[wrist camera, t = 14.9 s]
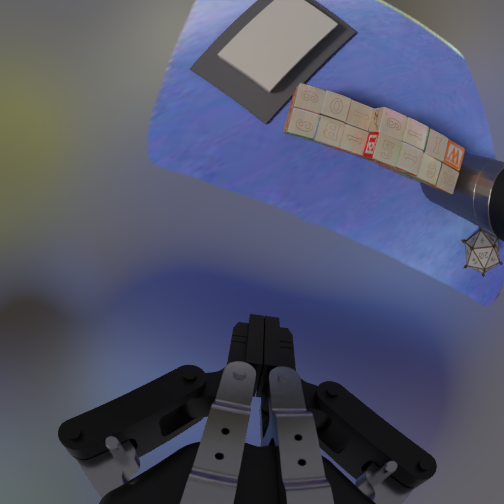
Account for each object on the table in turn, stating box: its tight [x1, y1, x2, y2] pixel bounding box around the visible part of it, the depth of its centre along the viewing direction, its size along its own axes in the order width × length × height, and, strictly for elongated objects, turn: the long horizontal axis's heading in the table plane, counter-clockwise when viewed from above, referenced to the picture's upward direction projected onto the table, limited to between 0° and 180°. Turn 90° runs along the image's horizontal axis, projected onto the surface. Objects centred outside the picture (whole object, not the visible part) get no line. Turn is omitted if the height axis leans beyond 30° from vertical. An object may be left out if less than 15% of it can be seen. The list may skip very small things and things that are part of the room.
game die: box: [462, 227, 503, 277], centre depth 37 cm, size 9×8×10 cm
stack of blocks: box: [283, 83, 465, 194], centre depth 31 cm, size 21×6×12 cm, turn 76°
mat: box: [190, 0, 356, 124], centre depth 31 cm, size 21×14×1 cm, turn 140°
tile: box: [218, 0, 338, 93], centre depth 30 cm, size 2×9×15 cm
